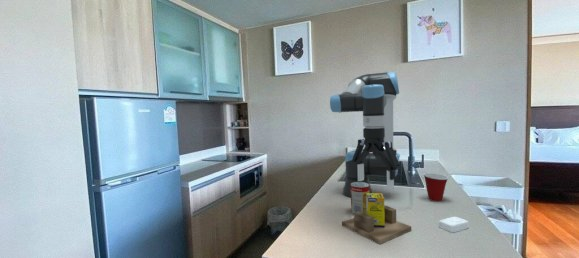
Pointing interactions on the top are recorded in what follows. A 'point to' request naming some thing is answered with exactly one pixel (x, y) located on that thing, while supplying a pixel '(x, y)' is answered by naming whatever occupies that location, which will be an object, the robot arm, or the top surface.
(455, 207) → the top surface
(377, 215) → the supplement box
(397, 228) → the slotted stand
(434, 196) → the plastic cup
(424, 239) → the top surface
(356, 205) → the canned food
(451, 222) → the soap
